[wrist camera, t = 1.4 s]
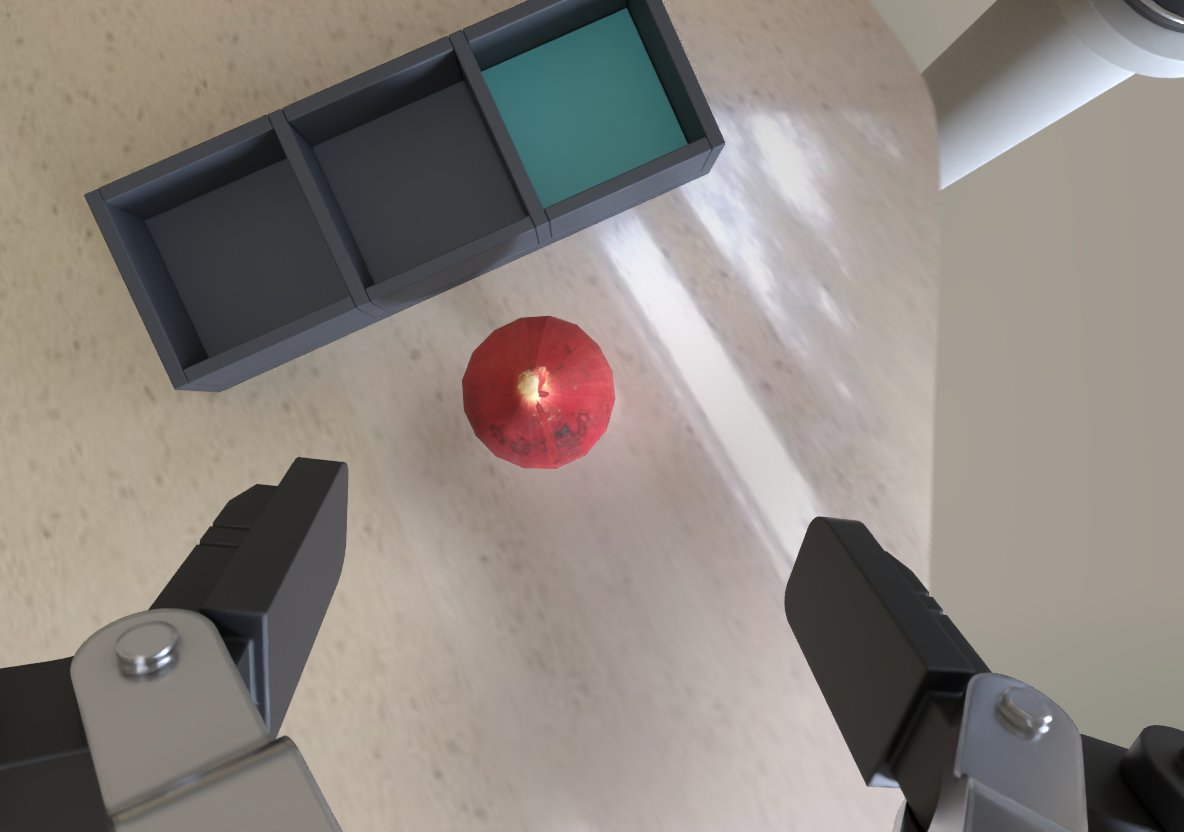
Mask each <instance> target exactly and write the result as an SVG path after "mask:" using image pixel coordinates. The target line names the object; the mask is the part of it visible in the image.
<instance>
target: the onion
mask: <svg viewBox="0 0 1184 832" xmlns="http://www.w3.org/2000/svg"><path fill="white" fill-rule="evenodd" d="M462 386H463V402H464V411H465V413H466V415H467V418H468V420H469V422H470V424H471V426H472V428H473V430H474V433H475V435H476V436H477V437H478V438H479V439H480V440H481V441H482V442H483V443H484V444H485V445H486V446H487V448H488V449H489V450H490V451H491V452H492V453H493V454H494V455H495V456H497V457H499V458H501V459H504V460H506V461H508V462H511V463H513V464H515V465H518V466H520V467H522V468H546V469H556V468H558V467H561V466H563V465H565V464H567V463H569V462H572V461H574V460H576V459H578V458H580V457H582V456H585V455H586V454H587V453H588V452H589V451H590V449H591V448H592V447H593V446H594V445H595V443H596V442H597V441H598V440H599V439H600V437H601V436H602V435H603V434H604V433H605V432H606V430H607V427H608V423H609V419H610V416H611V412H612V409H613V405H614V402H615V394H614V384H613V373H612V369H611V367H610V366H609V364H608V362H607V360H606V358H605V356H604V354H603V353H602V351H601V349H600V347H599V345H598V344H597V343H595V342H594V341H593V340H592V339H591V338H590V337H589V336H588V335H587V334H586V333H585V332H584V331H583V330H582V329H581V328H580V327H579V326H578V325H576V324H573V323H570V322H567V321H564V320H561V319H558V318H555V317H552V316H541V317H526V318H519V319H517V320H515V321H513V322H511V323H509V324H507V325H505V326H503V327H501V328H498V329H496V330H494V331H493V332H492V333H491V334H490V335H489V336H488V337H487V338H486V339H485V340H484V342H483V343H482V344H481V345H480V346H479V347H478V348H477V349H476V350H475V351H474V352H473V353H472V356H471V359H470V361H469V364H468V367H467V369H466V372H465V374H464V377H463V380H462Z"/></svg>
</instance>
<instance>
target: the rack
mask: <svg viewBox="0 0 1184 832" xmlns="http://www.w3.org/2000/svg"><path fill="white" fill-rule="evenodd" d="M724 145H725V141H724V139H723V136H722V134H721V132H720V130H719V127H718V125H717V123H716V121H715V119H714V116H713V114H712V112H711V110H710V107H709V105H708V103H707V101H706V98H705V96H704V94H703V92H702V89H701V87H700V85H699V83H698V81H697V78H696V76H695V74H694V72H693V69H692V67H691V65H690V63H689V60H688V58H687V56H686V54H685V51H684V49H683V47H682V45H681V43H680V40H679V38H678V36H677V34H676V31H675V29H674V27H673V25H672V22H671V20H670V18H669V16H668V13H667V11H666V9H665V7H664V5H663V2H662V0H528V1H526V2H524V3H521V4H519V5H517V6H514V7H512V8H510V9H508V10H505V11H503V12H501V13H498V14H496V15H494V16H492V17H489V18H487V19H485V20H482V21H480V22H478V23H476V24H473V25H471V26H469V27H466V28H464V29H463V31H462V30H460V31H457V32H455V33H453V34H450V35H449V37H447V36H446V37H444V38H441V39H439V40H437V41H435V42H432V43H430V44H428V45H425V46H423V47H421V48H419V49H416V50H414V51H412V52H409V53H407V54H405V55H403V56H400V57H398V58H396V59H393V60H391V61H389V62H387V63H384V64H382V65H380V66H377V67H375V68H373V69H371V70H368V71H366V72H364V73H361V74H359V75H357V76H355V77H352V78H350V79H348V80H345V81H343V82H341V83H339V84H336V85H334V86H332V87H330V88H327V89H325V90H323V91H320V92H318V93H316V94H314V95H311V96H309V97H307V98H304V99H302V100H300V101H298V102H295V103H293V104H291V105H288V106H286V107H284V108H282V109H279V110H277V111H275V112H272V113H270V114H268V116H267V115H265V116H263V117H260V118H258V119H256V120H253V121H251V122H249V123H247V124H244V125H242V126H240V127H237V128H235V129H233V130H231V131H228V132H226V133H224V134H221V135H219V136H217V137H215V138H212V139H210V140H208V141H206V142H203V143H201V144H199V145H196V146H194V147H192V148H190V149H187V150H185V151H183V152H180V153H178V154H176V155H174V156H171V157H169V158H167V159H164V160H162V161H160V162H158V163H155V164H153V165H151V166H148V167H146V168H144V169H142V170H139V171H137V172H135V173H132V174H130V175H128V176H126V177H123V178H121V179H119V180H116V181H114V182H112V183H110V184H107V185H105V186H103V187H100V188H99V189H96V190H94V191H92V192H89V193H87V194H85V195H84V196H85V198H86V200H87V203H88V205H89V207H90V209H91V211H92V213H93V215H94V218H95V220H96V222H97V224H98V226H99V228H100V230H101V233H102V235H103V237H104V239H105V241H106V243H107V245H108V248H109V250H110V252H111V254H112V256H113V258H114V260H115V263H116V265H117V267H118V269H119V271H120V273H121V275H122V278H123V280H124V282H125V284H126V286H127V288H128V290H129V293H130V295H131V297H132V299H133V301H134V303H135V305H136V308H137V310H138V312H139V314H140V316H141V318H142V320H143V323H144V325H145V327H146V329H147V331H148V333H149V335H150V338H151V340H152V342H153V344H154V346H155V348H156V350H157V353H158V355H159V357H160V359H161V361H162V363H163V365H164V368H165V370H166V372H167V374H168V376H169V378H170V380H171V383H172V385H173V387H174V389H175V390H189V391H207V392H221V391H223V390H225V389H228V388H230V387H232V386H234V385H236V384H239V383H241V382H243V381H245V380H248V379H250V378H252V377H254V376H257V375H259V374H261V373H263V372H265V371H268V370H270V369H272V368H274V367H277V366H279V365H281V364H283V363H286V362H288V361H290V360H292V359H294V358H297V357H299V356H301V355H303V354H306V353H308V352H310V351H312V350H315V349H317V348H319V347H321V346H323V345H326V344H328V343H330V342H332V341H335V340H337V339H339V338H341V337H344V336H346V335H348V334H350V333H353V332H355V331H357V330H359V329H361V328H364V327H366V326H368V325H370V324H373V323H375V322H377V321H379V320H382V319H384V318H386V317H388V316H390V315H393V314H395V313H397V312H399V311H402V310H404V309H406V308H408V307H411V306H413V305H415V304H417V303H419V302H422V301H424V300H426V299H428V298H431V297H433V296H435V295H437V294H440V293H442V292H444V291H446V290H448V289H451V288H453V287H455V286H457V285H460V284H462V283H464V282H466V281H469V280H471V279H473V278H475V277H478V276H480V275H482V274H484V273H486V272H489V271H491V270H493V269H495V268H498V267H500V266H502V265H504V264H507V263H509V262H511V261H513V260H515V259H518V258H520V257H522V256H524V255H527V254H529V253H531V252H533V251H536V250H538V249H540V248H542V247H544V246H547V245H549V244H551V243H553V242H556V241H558V240H560V239H562V238H565V237H567V236H569V235H571V234H574V233H576V232H578V231H580V230H582V229H585V228H587V227H589V226H591V225H594V224H596V223H598V222H600V221H603V220H605V219H607V218H609V217H611V216H614V215H616V214H618V213H620V212H623V211H625V210H627V209H629V208H632V207H634V206H636V205H638V204H640V203H643V202H645V201H647V200H649V199H652V198H654V197H656V196H658V195H661V194H663V193H665V192H667V191H669V190H672V189H674V188H676V187H678V186H681V185H683V184H685V183H687V182H690V181H692V180H694V179H696V178H699V177H701V176H703V175H705V174H707V173H709V172H710V170H711V168H712V166H713V165H714V163H715V161H716V159H717V158H718V156H719V154H720V152H721V151H722V149H723V147H724Z"/></svg>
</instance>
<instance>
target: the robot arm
mask: <svg viewBox="0 0 1184 832" xmlns="http://www.w3.org/2000/svg"><path fill="white" fill-rule="evenodd" d="M1124 1H1125V2H1126V3H1127V4H1128V5H1129V6H1130V7H1131V8H1132V9H1133V10H1134V11H1136V12H1137V13H1138V14H1140V15H1141V16H1142V17H1144V18H1145V19H1147V20H1149V21H1150V22H1152V23H1154V24H1156V25H1158V26H1160V27H1163V28H1166V29H1169V30H1172V31H1176V32H1180V33H1184V0H1124ZM347 501H348V466H347V464H346V463H345V462H337V461H328V460H319V459H311V458H302V457H298V458H296V459H295V461H294V462H293V463H292V465H291V467H290V468H289V470H288V471H287V473H286V474H285V476H284V477H283V479H282V481H281V482H280V484H279V485H278V486H270V485H261V484H256V485H254V486H253V487H251V488H250V489H248V490H246V491H245V492H243V493H241V494H240V495H238V496H236V497H235V498H233V499H231V500H230V501H229V502H228V503H227V504H226V506H225V507H224V508H223V510H222V511H221V513H220V514H219V515H218V517H217V518H216V519H215V521H214V522H213V526H212V527H211V526H210V527H209V529H208V530H207V531H206V533H205V534H204V535H203V537H202V538H201V539H200V544H199V545H196V546H195V548H194V549H193V550H192V552H191V553H190V554H189V556H188V557H187V558H186V560H185V561H184V562H183V564H182V565H181V566H180V568H179V569H178V571H177V572H176V573H175V575H174V576H173V577H172V579H171V580H170V581H169V583H168V584H167V585H166V587H165V588H164V589H163V591H162V592H161V593H160V595H159V596H158V598H157V599H156V600H155V602H154V603H153V604H152V606H151V607H150V608H149V610H147V611H143V612H139V613H135V614H131V615H129V616H126V617H123V618H120V619H118V620H116V621H114V622H112V623H110V624H108V625H106V626H105V627H103V628H101V629H99V630H98V631H97V632H95V633H94V634H93V635H91V636H90V637H89V638H88V639H87V640H86V641H85V642H84V643H83V644H82V645H81V646H80V648H79V649H78V650H77V652H76V653H75V655H74V656H72V657H68V658H64V659H58V660H53V661H47V662H41V663H34V664H27V665H21V666H14V667H8V668H1V669H0V832H342V830H341V828H340V826H339V824H338V822H337V820H336V818H335V816H334V815H333V813H332V811H331V809H330V807H329V805H328V803H327V801H326V800H325V798H324V796H323V794H322V792H321V790H320V788H319V786H318V784H317V783H316V781H315V779H314V777H313V775H312V773H311V771H310V769H309V767H308V766H307V764H306V762H305V760H304V758H303V756H302V754H301V753H300V751H299V749H298V747H297V746H296V745H295V743H294V742H293V741H292V740H291V739H290V738H289V737H288V736H282V737H280V738H278V739H276V737H277V735H278V732H279V730H280V727H281V725H282V722H283V720H284V717H285V715H286V712H287V710H288V707H289V705H290V702H291V700H292V697H293V695H294V692H295V689H296V687H297V684H298V682H299V679H300V677H301V674H302V672H303V669H304V667H305V664H306V662H307V659H308V657H309V654H310V652H311V649H312V647H313V644H314V642H315V639H316V637H317V634H318V632H319V629H320V626H321V624H322V621H323V619H324V616H325V614H326V611H327V609H328V606H329V604H330V601H331V599H332V596H333V594H334V591H335V589H336V586H337V584H338V581H339V578H340V575H341V571H342V567H343V562H344V556H345V549H346V532H347ZM785 612H786V617H787V620H788V622H789V625H790V627H791V629H792V631H793V633H794V635H795V637H796V639H797V641H798V643H799V645H800V648H801V650H802V652H803V654H804V656H805V658H806V660H807V662H808V664H809V666H810V668H811V671H812V673H813V675H814V677H815V679H816V681H817V683H818V685H819V687H820V689H821V691H822V693H823V696H824V698H825V700H826V702H827V704H828V706H829V708H830V710H831V712H832V714H833V716H834V718H835V721H836V723H837V725H838V727H839V729H840V731H841V733H842V735H843V737H844V739H845V741H846V743H847V746H848V748H849V750H850V752H851V754H852V756H853V758H854V760H855V762H856V764H857V766H858V768H859V771H860V773H861V775H862V777H863V779H864V781H865V783H866V785H867V786H868V787H888V788H901V790H902V792H903V794H904V796H905V799H904V801H903V803H902V805H901V806H900V808H899V810H898V813H897V815H896V819H895V823H894V828H893V832H1184V731H1181V730H1178V729H1175V728H1172V727H1167V726H1160V725H1153V726H1148V727H1146V728H1144V729H1143V731H1142V732H1141V733H1140V735H1139V736H1138V737H1137V739H1136V740H1135V742H1134V743H1133V744H1132V746H1131V747H1130V748H1129V749H1126V748H1123V747H1120V746H1117V745H1114V744H1111V743H1108V742H1105V741H1102V740H1099V739H1095V738H1092V737H1089V736H1086V735H1083V734H1080V733H1079V731H1078V728H1077V727H1076V725H1075V724H1074V722H1073V721H1072V719H1071V718H1070V717H1069V716H1068V714H1067V713H1066V712H1065V711H1064V710H1063V709H1062V708H1060V706H1059V705H1057V704H1056V703H1055V702H1054V701H1053V700H1052V699H1050V698H1049V697H1047V696H1046V695H1045V694H1043V693H1042V692H1040V691H1039V690H1037V689H1035V688H1034V687H1032V686H1030V685H1028V684H1026V683H1024V682H1022V681H1020V680H1017V679H1015V678H1012V677H1009V676H1006V675H1002V674H997V673H992V672H991V671H990V669H989V668H988V667H987V666H986V664H985V663H984V662H983V660H982V659H981V658H980V657H979V655H978V654H977V653H976V652H975V650H974V649H973V648H972V646H971V645H970V644H969V643H968V641H967V640H966V639H965V638H964V636H963V635H962V634H961V633H960V631H959V630H958V629H957V627H956V626H955V625H954V624H953V623H952V621H951V620H950V619H949V617H948V616H947V615H943V610H942V608H941V607H940V606H939V605H938V603H937V602H936V601H935V599H934V598H933V597H929V592H928V591H927V589H926V588H925V587H924V586H923V584H922V583H921V582H920V580H919V579H918V578H917V577H916V575H915V574H914V573H913V572H912V571H911V570H910V569H909V568H907V567H906V566H905V565H903V564H902V563H901V562H900V561H898V560H897V559H896V558H894V557H893V556H892V555H891V554H889V553H888V552H886V551H884V550H883V549H882V547H881V546H880V545H879V543H878V542H877V541H876V539H875V538H874V537H873V535H872V534H871V533H870V531H869V530H868V529H867V528H866V526H865V525H864V524H863V523H862V522H860V521H856V520H847V519H838V518H829V517H816V518H814V519H813V520H812V522H811V523H810V525H809V527H808V529H807V532H806V534H805V537H804V540H803V543H802V545H801V548H800V551H799V553H798V556H797V559H796V561H795V564H794V567H793V570H792V572H791V575H790V578H789V580H788V583H787V586H786V591H785Z"/></svg>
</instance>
